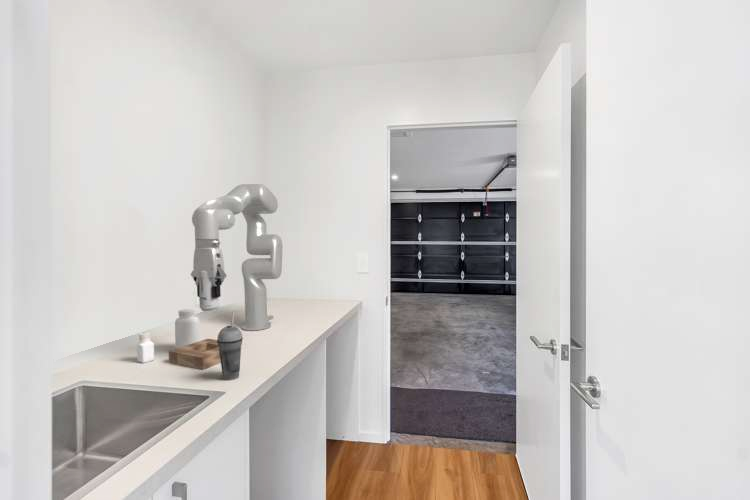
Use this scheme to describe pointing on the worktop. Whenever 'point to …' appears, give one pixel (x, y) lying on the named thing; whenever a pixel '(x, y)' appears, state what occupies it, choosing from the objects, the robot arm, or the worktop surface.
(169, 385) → the worktop surface
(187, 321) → the pill bottle
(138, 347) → the pepper shaker
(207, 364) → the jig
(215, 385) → the worktop surface
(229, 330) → the beverage cup
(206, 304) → the energy drink can
